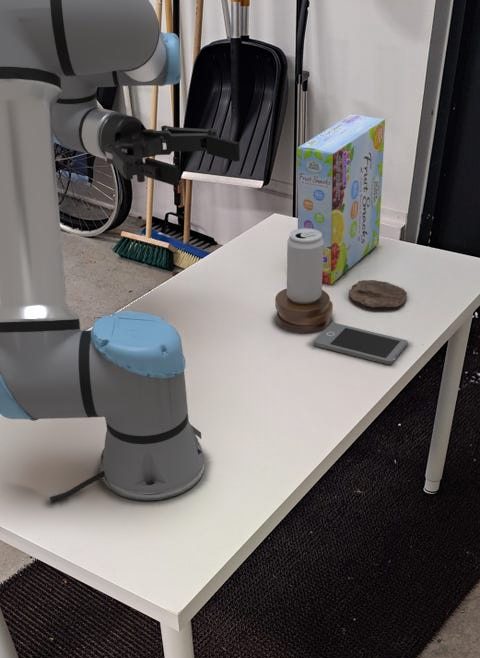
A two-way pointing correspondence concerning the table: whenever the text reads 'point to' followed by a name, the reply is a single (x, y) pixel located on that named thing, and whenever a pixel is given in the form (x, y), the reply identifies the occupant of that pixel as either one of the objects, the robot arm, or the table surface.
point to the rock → (377, 294)
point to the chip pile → (303, 313)
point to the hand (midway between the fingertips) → (208, 164)
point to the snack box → (342, 190)
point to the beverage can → (304, 265)
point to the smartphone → (360, 343)
